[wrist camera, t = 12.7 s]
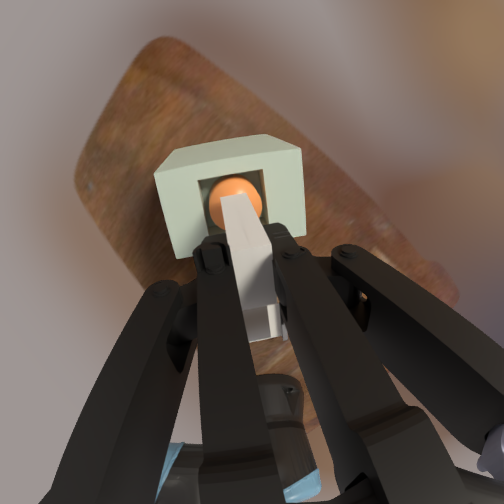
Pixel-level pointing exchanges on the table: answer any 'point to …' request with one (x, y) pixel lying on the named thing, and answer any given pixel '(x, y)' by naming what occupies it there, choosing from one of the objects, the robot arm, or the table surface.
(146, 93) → the table surface
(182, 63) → the table surface
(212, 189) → the button
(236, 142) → the end cabinet
